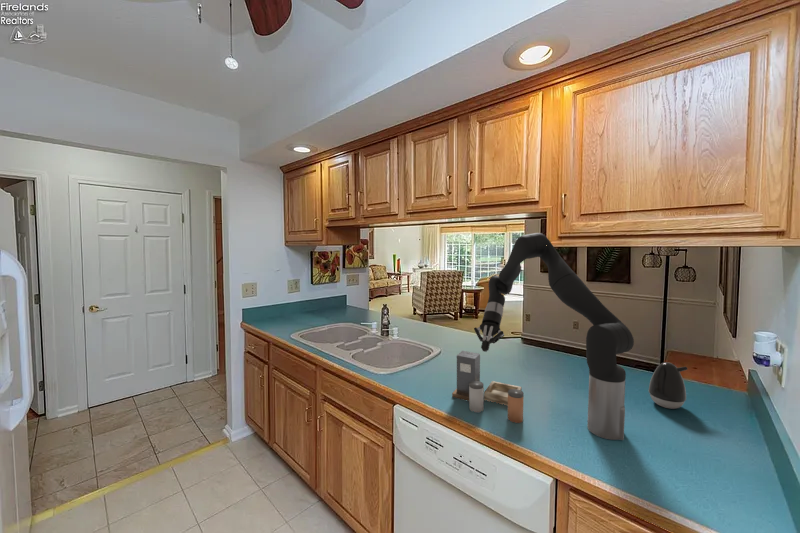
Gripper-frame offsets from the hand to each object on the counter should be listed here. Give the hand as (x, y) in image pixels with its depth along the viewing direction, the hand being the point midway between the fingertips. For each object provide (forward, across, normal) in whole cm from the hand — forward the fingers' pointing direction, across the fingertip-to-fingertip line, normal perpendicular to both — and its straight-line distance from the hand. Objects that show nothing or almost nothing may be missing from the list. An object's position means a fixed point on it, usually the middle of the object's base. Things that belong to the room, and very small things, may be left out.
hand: (484, 350), depth 134 cm
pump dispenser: (0, +61, +19) cm, 64 cm away
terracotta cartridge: (+25, +17, -6) cm, 31 cm away
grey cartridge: (+25, +4, -6) cm, 26 cm away
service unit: (+19, -2, 0) cm, 19 cm away
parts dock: (+16, +10, +3) cm, 19 cm away
